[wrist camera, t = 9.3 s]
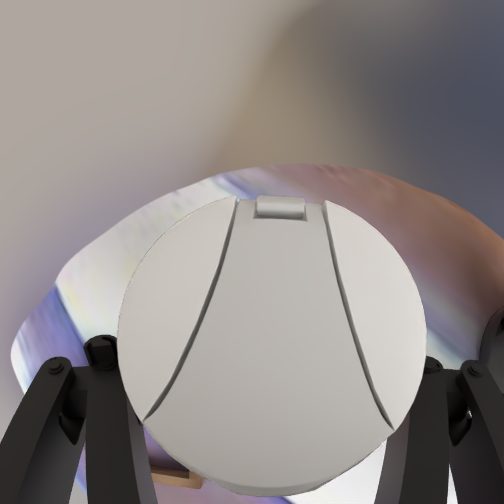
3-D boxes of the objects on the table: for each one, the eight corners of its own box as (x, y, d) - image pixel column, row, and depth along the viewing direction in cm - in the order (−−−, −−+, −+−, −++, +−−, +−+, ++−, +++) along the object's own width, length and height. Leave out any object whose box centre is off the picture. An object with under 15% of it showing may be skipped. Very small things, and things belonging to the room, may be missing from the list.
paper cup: (210, 308, 20) (136, 172, 8) (324, 313, 20) (419, 187, 7) (199, 422, 17) (85, 481, 4) (320, 428, 17) (437, 493, 4)
